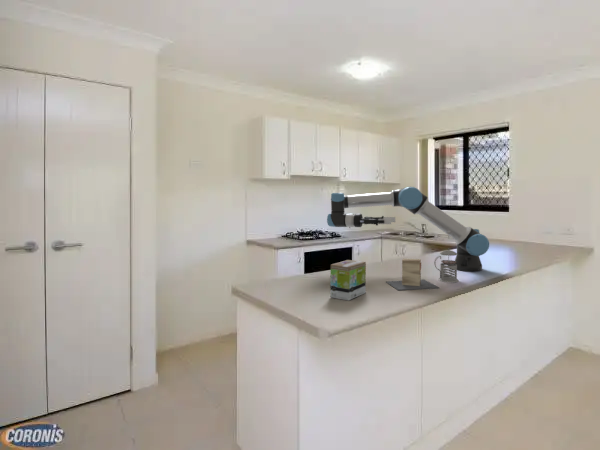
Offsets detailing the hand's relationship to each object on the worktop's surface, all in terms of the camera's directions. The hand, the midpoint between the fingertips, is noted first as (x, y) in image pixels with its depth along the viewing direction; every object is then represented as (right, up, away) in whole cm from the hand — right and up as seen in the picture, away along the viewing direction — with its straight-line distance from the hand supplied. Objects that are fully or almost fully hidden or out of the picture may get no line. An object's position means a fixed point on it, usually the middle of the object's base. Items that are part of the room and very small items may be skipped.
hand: (393, 220), depth 194 cm
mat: (+4, -32, -19) cm, 37 cm away
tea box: (-28, -34, -33) cm, 55 cm away
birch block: (+4, -31, -19) cm, 36 cm away
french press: (+24, -31, -10) cm, 41 cm away
